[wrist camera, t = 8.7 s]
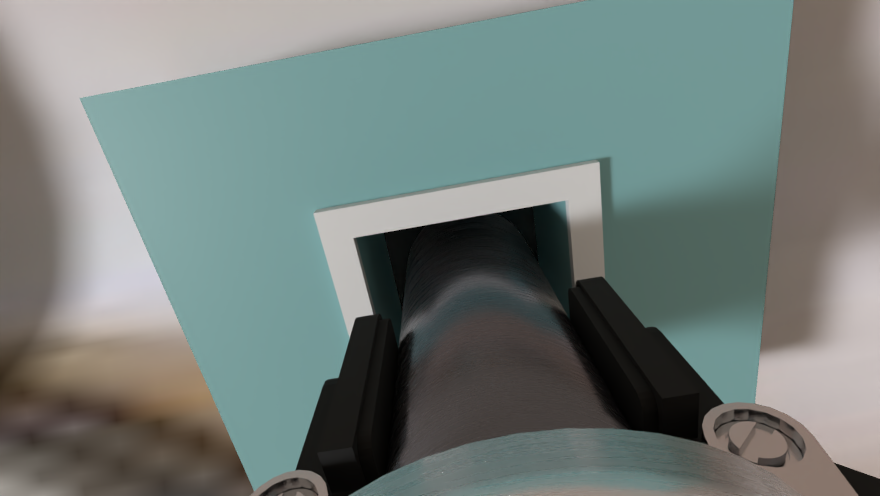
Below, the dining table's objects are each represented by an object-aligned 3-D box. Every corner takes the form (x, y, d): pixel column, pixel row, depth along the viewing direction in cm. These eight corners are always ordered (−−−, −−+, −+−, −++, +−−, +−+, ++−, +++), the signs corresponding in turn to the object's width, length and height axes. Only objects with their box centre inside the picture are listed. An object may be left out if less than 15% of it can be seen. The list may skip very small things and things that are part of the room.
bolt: (574, 335, 16) (918, 965, 5) (392, 364, 16) (316, 1028, 5) (559, 152, 14) (1171, 552, 2) (348, 190, 14) (18, 710, 3)
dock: (678, 369, 19) (756, 461, 15) (303, 429, 20) (267, 536, 15) (685, -8, 14) (808, -44, 9) (179, 89, 15) (70, 99, 10)
